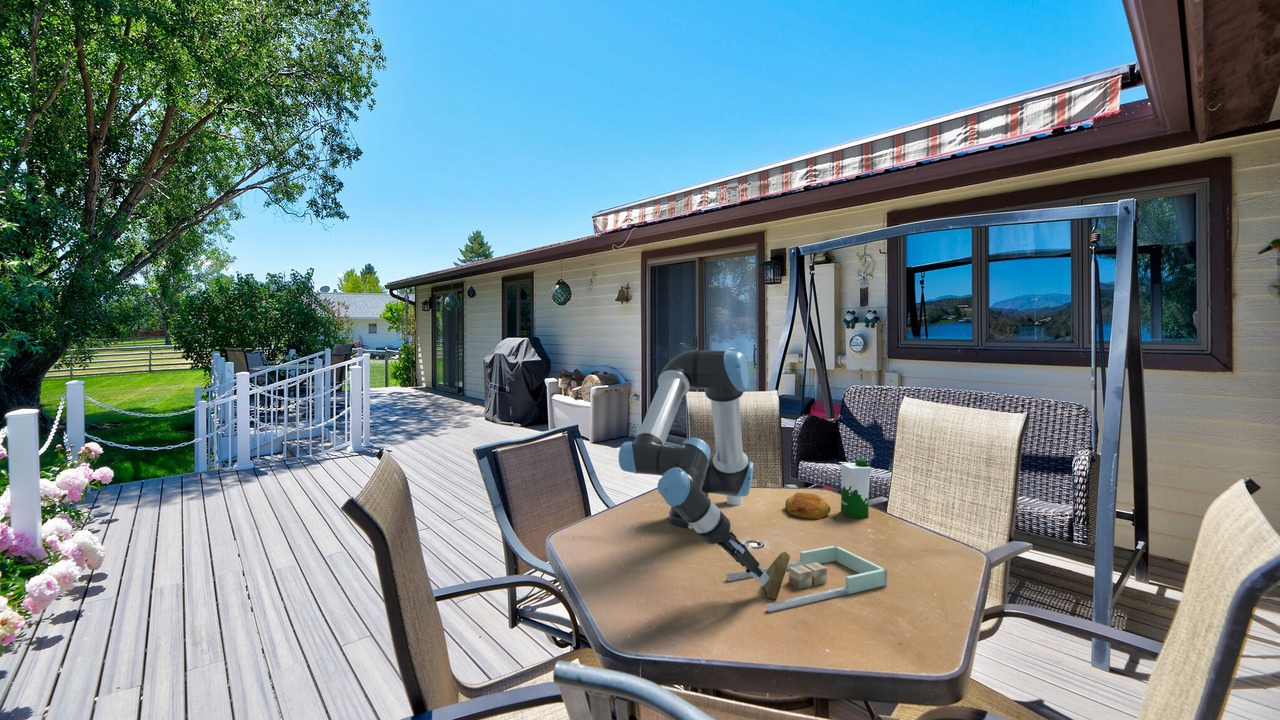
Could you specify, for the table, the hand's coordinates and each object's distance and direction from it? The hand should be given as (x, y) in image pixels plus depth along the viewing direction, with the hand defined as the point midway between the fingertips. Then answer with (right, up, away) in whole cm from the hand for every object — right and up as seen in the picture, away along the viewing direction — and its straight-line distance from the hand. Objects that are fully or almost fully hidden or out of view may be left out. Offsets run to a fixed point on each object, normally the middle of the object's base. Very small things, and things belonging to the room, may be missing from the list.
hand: (765, 580), depth 134 cm
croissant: (+30, -2, +64) cm, 71 cm away
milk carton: (+47, -2, +64) cm, 79 cm away
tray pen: (+23, -3, +12) cm, 26 cm away
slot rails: (+6, -3, +4) cm, 8 cm away
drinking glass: (+5, -1, +75) cm, 75 cm away
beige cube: (+15, -4, +8) cm, 18 cm away
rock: (+2, -4, +2) cm, 5 cm away
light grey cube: (+10, -4, +6) cm, 13 cm away
